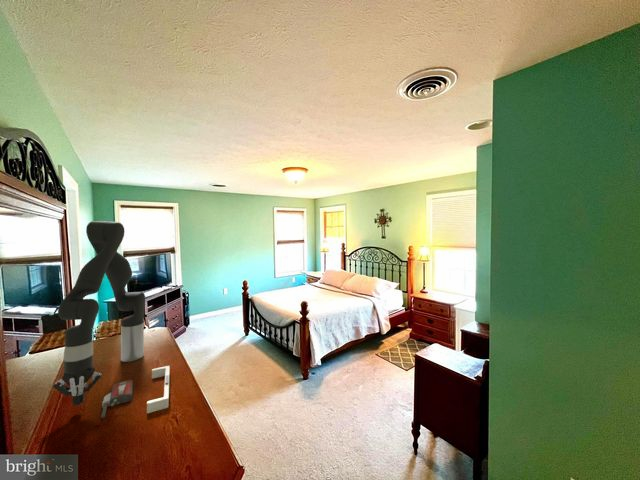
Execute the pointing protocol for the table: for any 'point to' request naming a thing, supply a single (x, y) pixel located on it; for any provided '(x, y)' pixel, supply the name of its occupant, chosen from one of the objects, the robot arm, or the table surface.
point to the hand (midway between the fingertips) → (78, 404)
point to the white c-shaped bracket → (164, 401)
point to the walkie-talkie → (118, 395)
